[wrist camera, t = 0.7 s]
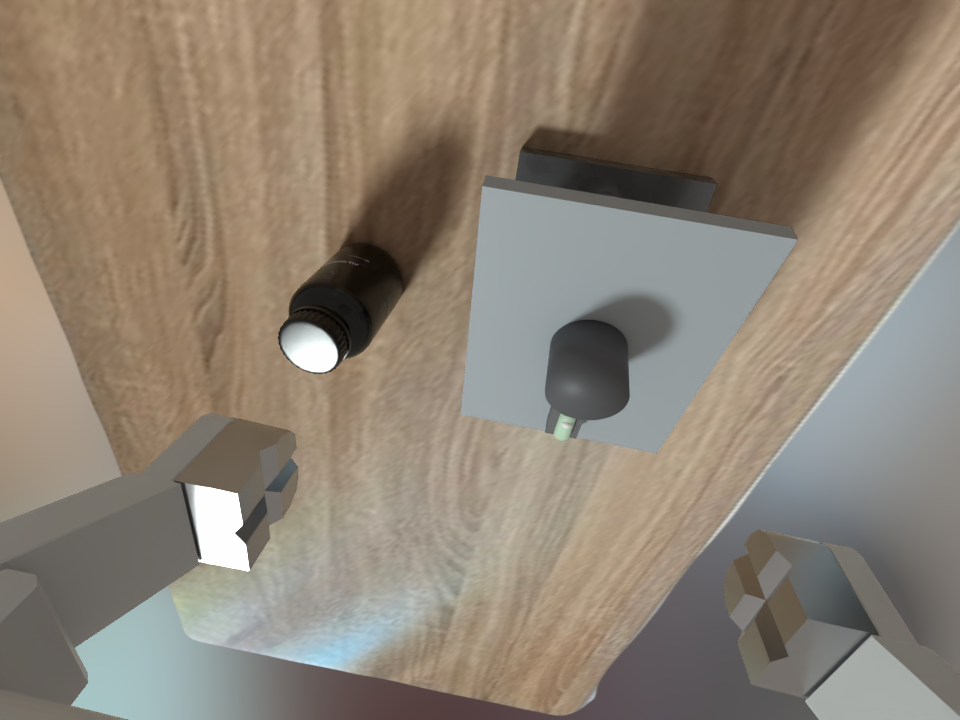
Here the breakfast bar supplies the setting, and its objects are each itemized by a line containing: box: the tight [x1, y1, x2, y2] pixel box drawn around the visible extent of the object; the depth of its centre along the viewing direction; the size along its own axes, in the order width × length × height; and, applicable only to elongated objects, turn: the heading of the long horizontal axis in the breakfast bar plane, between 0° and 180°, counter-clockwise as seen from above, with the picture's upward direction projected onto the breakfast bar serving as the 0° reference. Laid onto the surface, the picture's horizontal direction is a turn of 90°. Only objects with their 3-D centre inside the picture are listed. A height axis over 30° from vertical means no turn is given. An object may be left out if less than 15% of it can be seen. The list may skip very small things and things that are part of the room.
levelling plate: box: [461, 175, 798, 453], centre depth 31 cm, size 20×16×6 cm
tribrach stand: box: [516, 147, 717, 212], centre depth 37 cm, size 18×14×9 cm
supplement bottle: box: [278, 243, 403, 374], centre depth 40 cm, size 7×7×12 cm
